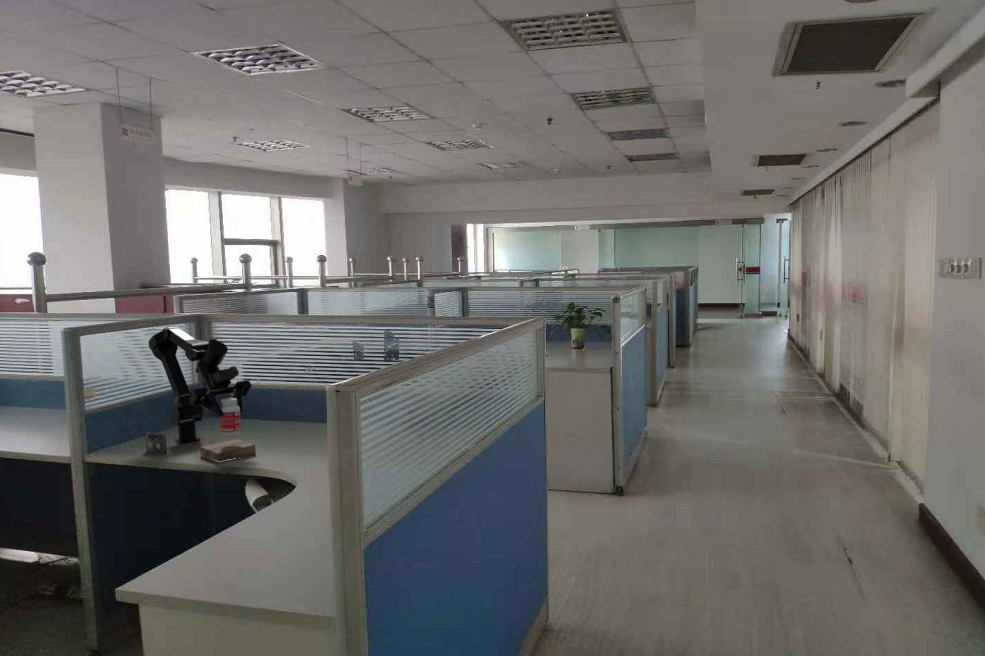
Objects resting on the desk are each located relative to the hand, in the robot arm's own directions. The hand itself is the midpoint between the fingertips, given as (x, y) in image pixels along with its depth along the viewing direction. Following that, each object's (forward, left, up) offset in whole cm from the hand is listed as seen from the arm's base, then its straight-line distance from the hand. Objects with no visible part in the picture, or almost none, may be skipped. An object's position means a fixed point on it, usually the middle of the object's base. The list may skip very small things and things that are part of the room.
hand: (232, 413), depth 225 cm
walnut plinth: (-1, -1, -13) cm, 13 cm away
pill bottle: (-1, 0, -7) cm, 7 cm away
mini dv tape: (-22, -16, -13) cm, 31 cm away
